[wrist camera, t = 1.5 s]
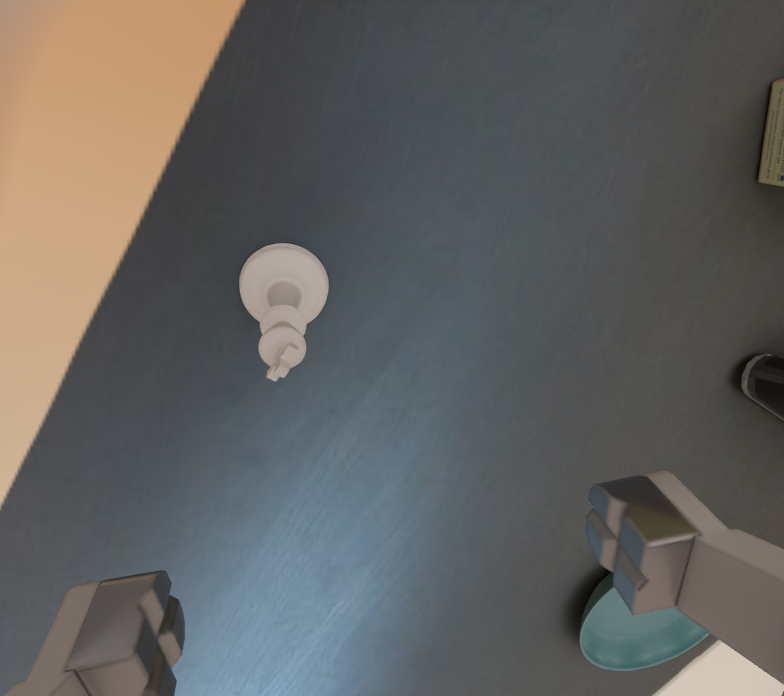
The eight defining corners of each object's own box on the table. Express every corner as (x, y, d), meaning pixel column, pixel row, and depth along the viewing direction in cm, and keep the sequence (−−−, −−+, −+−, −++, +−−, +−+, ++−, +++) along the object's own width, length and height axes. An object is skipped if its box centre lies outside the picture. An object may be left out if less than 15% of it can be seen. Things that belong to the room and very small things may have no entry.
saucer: (743, 550, 48) (767, 573, 46) (652, 651, 53) (669, 677, 51) (625, 521, 43) (644, 546, 41) (537, 636, 48) (550, 663, 46)
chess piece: (222, 297, 29) (192, 389, 20) (269, 225, 27) (259, 289, 19) (298, 340, 31) (301, 441, 22) (345, 274, 29) (368, 353, 20)
